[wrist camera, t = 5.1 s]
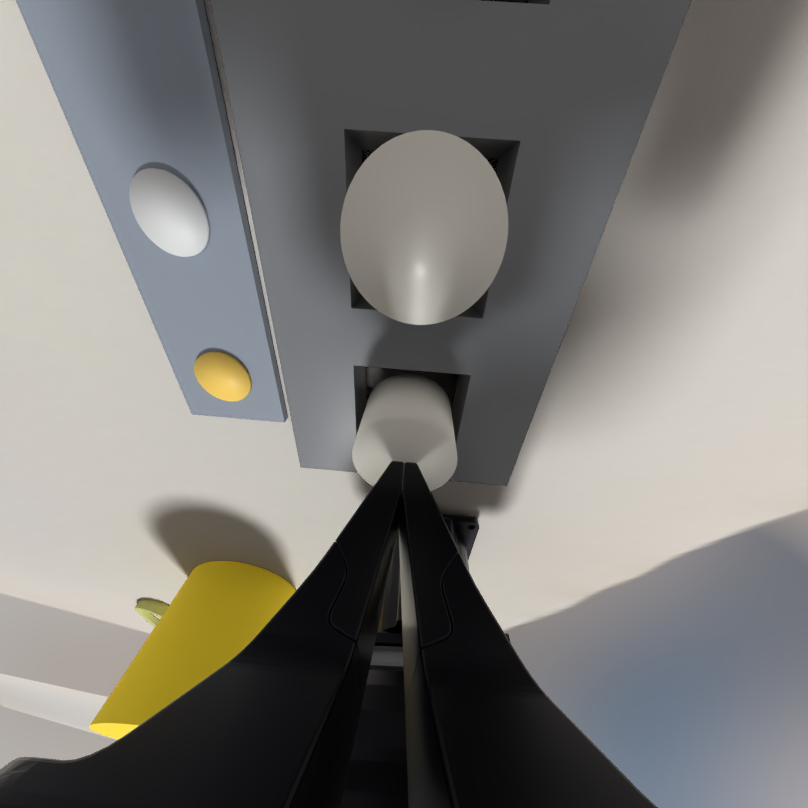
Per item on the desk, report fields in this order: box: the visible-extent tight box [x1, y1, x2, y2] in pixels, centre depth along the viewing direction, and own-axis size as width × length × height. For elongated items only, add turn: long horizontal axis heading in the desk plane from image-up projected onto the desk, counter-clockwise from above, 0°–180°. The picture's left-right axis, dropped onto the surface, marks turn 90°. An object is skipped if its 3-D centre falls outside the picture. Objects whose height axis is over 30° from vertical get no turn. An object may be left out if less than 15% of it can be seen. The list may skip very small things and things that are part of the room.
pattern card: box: [16, 0, 287, 422], centre depth 10 cm, size 18×5×1 cm, turn 176°
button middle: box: [340, 130, 508, 325], centre depth 7 cm, size 4×4×3 cm
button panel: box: [210, 0, 691, 486], centre depth 9 cm, size 20×10×2 cm, turn 176°
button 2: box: [352, 374, 457, 491], centre depth 11 cm, size 4×4×3 cm
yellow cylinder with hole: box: [89, 561, 296, 739], centre depth 23 cm, size 10×10×9 cm
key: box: [135, 600, 169, 627], centre depth 30 cm, size 7×12×2 cm, turn 107°
